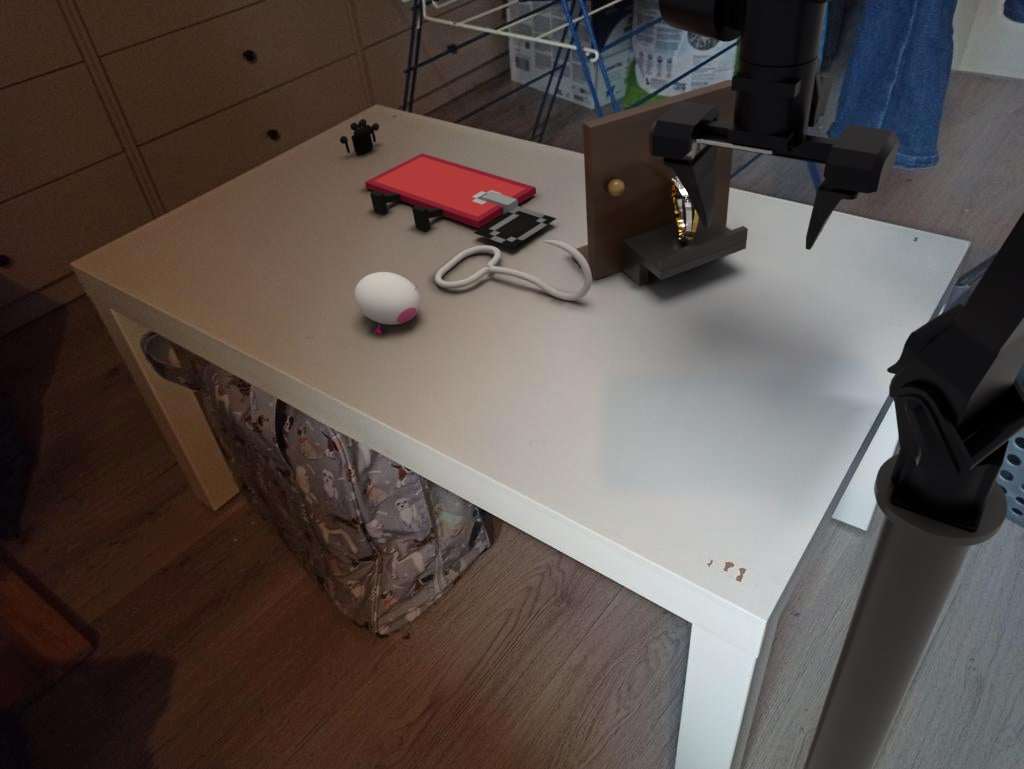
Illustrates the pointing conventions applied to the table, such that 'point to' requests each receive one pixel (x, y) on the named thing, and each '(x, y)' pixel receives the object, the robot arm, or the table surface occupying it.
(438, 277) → the white cord
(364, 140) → the wireless earbuds
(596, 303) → the table surface
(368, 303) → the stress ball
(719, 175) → the door rack
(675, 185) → the ring
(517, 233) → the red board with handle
